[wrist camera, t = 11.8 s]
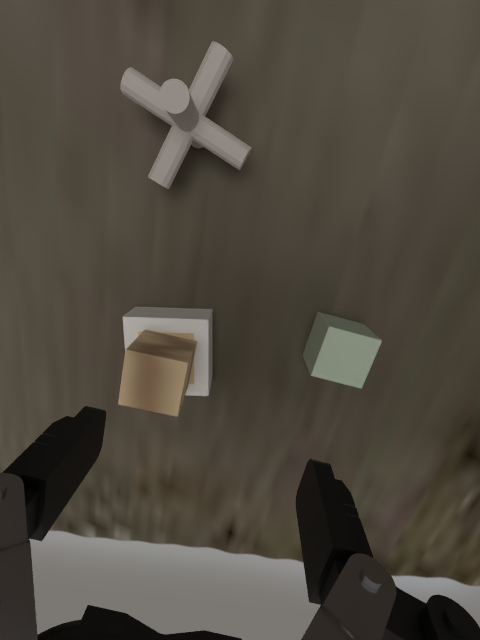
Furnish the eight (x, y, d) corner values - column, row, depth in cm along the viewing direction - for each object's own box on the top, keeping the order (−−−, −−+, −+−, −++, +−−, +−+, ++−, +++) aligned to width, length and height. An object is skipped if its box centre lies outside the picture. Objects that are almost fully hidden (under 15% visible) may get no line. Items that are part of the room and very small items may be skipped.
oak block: (197, 341, 31) (188, 363, 26) (187, 387, 32) (177, 416, 27) (144, 329, 30) (125, 349, 26) (137, 377, 32) (118, 404, 27)
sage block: (363, 323, 34) (382, 340, 29) (346, 365, 35) (361, 388, 31) (317, 311, 34) (329, 326, 29) (302, 354, 35) (310, 375, 30)
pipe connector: (218, 217, 31) (206, 216, 21) (124, 158, 30) (65, 129, 20) (275, 114, 28) (290, 61, 19) (175, 44, 27) (135, -52, 17)
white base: (212, 308, 34) (208, 320, 30) (212, 377, 36) (208, 397, 32) (136, 305, 34) (121, 317, 30) (141, 374, 36) (128, 394, 32)
